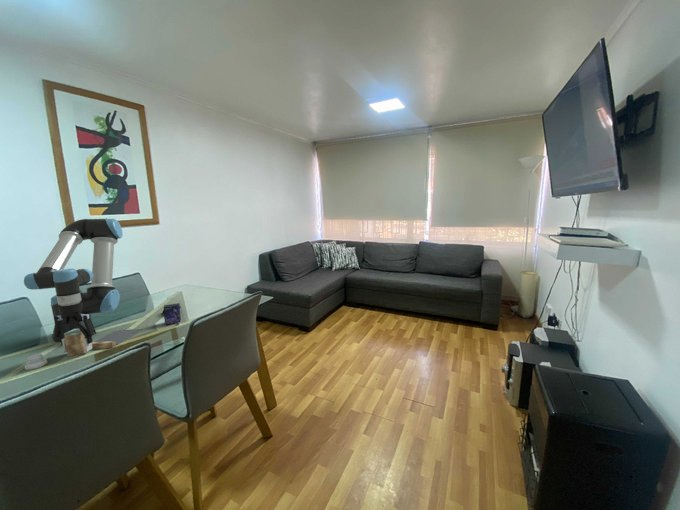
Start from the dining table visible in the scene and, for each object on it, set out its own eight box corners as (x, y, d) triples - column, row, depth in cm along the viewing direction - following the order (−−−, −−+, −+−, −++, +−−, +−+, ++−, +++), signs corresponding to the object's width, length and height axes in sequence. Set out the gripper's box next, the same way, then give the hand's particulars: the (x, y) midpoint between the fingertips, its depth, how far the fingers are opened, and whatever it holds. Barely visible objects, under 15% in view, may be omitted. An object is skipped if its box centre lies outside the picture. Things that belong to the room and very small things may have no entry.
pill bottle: (51, 375, 119) (46, 350, 117) (50, 381, 115) (45, 356, 113) (29, 381, 115) (23, 356, 113) (27, 388, 110) (21, 362, 108)
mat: (87, 346, 130) (87, 345, 130) (116, 330, 148) (115, 330, 148) (117, 344, 131) (117, 344, 131) (142, 329, 149) (142, 328, 148)
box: (165, 325, 154) (162, 307, 152) (165, 322, 159) (163, 304, 157) (181, 322, 158) (179, 305, 156) (181, 319, 162) (179, 302, 161)
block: (68, 356, 121) (63, 333, 119) (78, 351, 125) (74, 328, 124) (79, 355, 121) (75, 332, 119) (89, 350, 126) (85, 328, 124)
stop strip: (82, 349, 127) (81, 344, 127) (85, 347, 129) (84, 342, 129) (112, 347, 128) (112, 342, 127) (115, 345, 130) (115, 340, 129)
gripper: (36, 307, 115) (45, 355, 119) (87, 305, 117) (95, 353, 120) (53, 301, 123) (61, 347, 126) (102, 299, 124) (109, 345, 127)
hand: (78, 350), depth 123 cm, fingers open, 9 cm apart
